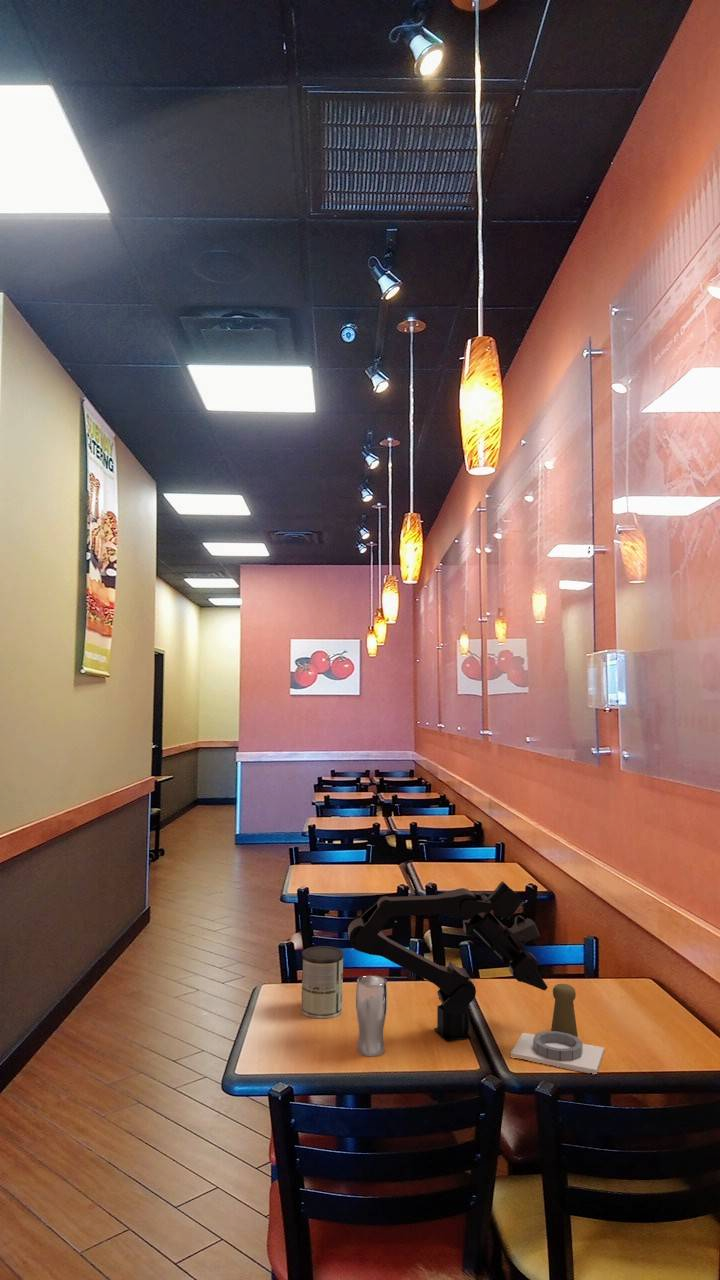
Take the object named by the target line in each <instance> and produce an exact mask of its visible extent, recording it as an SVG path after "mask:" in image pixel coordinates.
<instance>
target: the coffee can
mask: <svg viewBox="0 0 720 1280" xmlns="http://www.w3.org/2000/svg"><path fill="white" fill-rule="evenodd" d="M344 952H345V951H343V950H342V949H341V948H339V947H335V946H329V945H319V946H318V945H317V946H311V947H307V948H305V949H303V950H302V952H301V956H302V966H301V971H302V972H301V1009H300V1010H301V1011H300V1012H301V1014H302V1015H304V1016H305V1017H308V1018H312V1019H318V1020H319V1019H321V1020H323V1019H331V1018H335V1017H338V1016H340V1015H341V1014H342V1013H343V986H344V985H343V983H344V982H343V976H344V974H343V973H344V956H345V955H344V954H345V953H344Z"/></svg>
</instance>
